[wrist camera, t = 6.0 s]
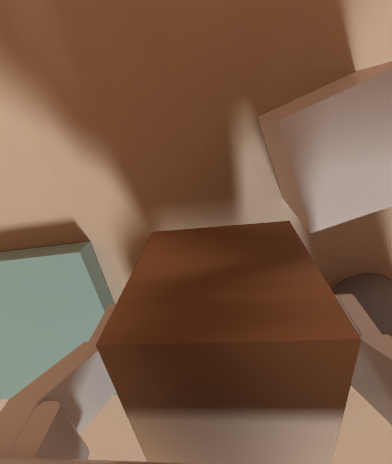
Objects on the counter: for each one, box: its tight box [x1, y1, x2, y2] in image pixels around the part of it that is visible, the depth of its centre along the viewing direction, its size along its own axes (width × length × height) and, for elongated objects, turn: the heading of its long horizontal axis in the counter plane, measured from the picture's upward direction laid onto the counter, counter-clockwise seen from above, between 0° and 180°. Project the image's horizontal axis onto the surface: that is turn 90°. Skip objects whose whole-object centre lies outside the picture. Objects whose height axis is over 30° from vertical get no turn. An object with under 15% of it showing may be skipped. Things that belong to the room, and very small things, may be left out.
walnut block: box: [96, 221, 362, 464], centre depth 8 cm, size 5×5×5 cm
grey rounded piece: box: [332, 274, 392, 337], centre depth 13 cm, size 4×4×5 cm
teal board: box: [0, 241, 117, 399], centre depth 17 cm, size 12×12×1 cm
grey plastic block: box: [258, 62, 392, 234], centre depth 9 cm, size 4×4×4 cm
